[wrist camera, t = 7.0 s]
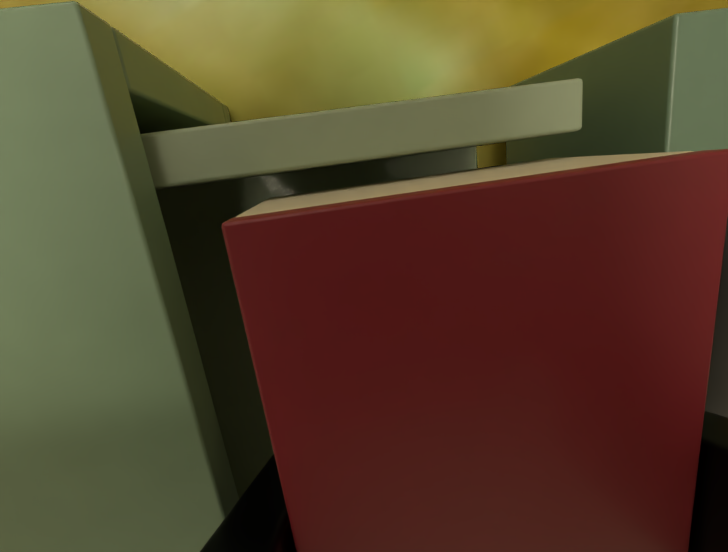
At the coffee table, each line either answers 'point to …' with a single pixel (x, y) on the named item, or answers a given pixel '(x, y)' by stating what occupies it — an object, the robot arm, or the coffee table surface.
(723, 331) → the drawer
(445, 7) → the coffee table surface
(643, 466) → the book
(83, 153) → the cabinet
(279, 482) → the robot arm
